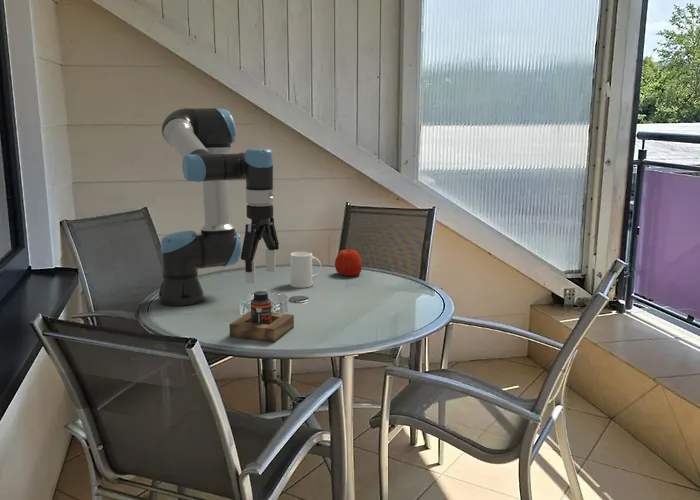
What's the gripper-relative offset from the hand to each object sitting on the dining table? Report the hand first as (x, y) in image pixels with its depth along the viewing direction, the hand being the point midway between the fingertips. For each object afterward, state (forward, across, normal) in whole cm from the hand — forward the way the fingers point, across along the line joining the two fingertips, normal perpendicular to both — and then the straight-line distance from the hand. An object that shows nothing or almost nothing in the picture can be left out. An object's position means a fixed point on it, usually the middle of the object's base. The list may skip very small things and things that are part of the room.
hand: (260, 276), depth 187 cm
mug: (+18, +54, +8) cm, 58 cm away
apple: (+18, +75, -3) cm, 77 cm away
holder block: (+17, 0, 0) cm, 17 cm away
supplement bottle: (+16, -1, 0) cm, 16 cm away
